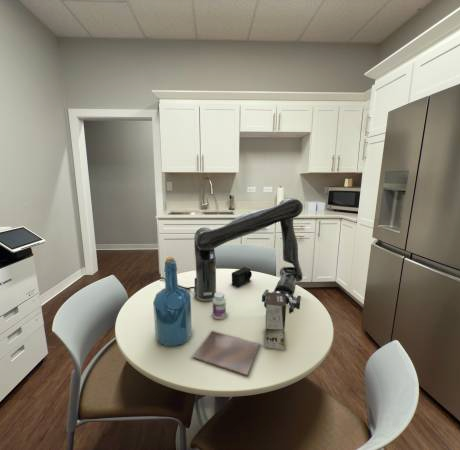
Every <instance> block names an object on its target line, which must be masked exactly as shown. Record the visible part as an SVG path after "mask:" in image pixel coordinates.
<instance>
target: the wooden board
mask: <svg viewBox="0 0 460 450" xmlns="http://www.w3.org/2000/svg"><path fill="white" fill-rule="evenodd" d="M259 348H260V344H258V343H255V342H252V341H248V340H244V339H241V338H238V337H233V336H230V335H227V334H223V333H219V332H216V331H211V332H210V334H209V335H208V336H207V338H206V339H205V341H204V342H203V343H202V345H201V346H200V348H199V349H198V350H197V351H196V353H195V354H194V356H193V359H194V360H197V361H201V362H205V363H206V364H210V365H213V366H216V367H218V368H222V369H225V370H228V371H230V372H234V373H236V374H240V375H243V376H245V377H248V376H249V373H250V370H251V367H252V365H253V363H254V360H255V358H256V356H257V353H258V350H259Z"/></svg>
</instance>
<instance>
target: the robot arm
mask: <svg viewBox="0 0 460 450" xmlns="http://www.w3.org/2000/svg"><path fill="white" fill-rule="evenodd" d="M303 209H304V205H303V203H302V202H301V200H299V199H298V198H295V197H294V198H293V197H291V198H284V199H282V200H281V201H279V203H278V204H276V205H274V206H271V207H267V208H263V209H257V210H254V211H250V212H248V213H245V214H242V215H240V216H238V217H236V218H234V219H232V220H231V221H230V222H228V223H227V224H225V225H224V226H221V227H217V228H214V229H211V228H210V227H207V226H206V227H205V226H204V227H200V228H198V229H197V230H196V231H195V233H194V237H193V238H194V239H193V243H194V258H195V277H194V286H189V287H185V286H182V285H180V284H178V287H181V288H184V289H185V290H192V289H193V292H194V298H195V299H197V300H198V301H201V302H211V301H213V299H214V294H215V293H217V263H216V262H217V259H216V252H215V249H216V248H218V247H220V246H222V245H224V244H226V243H228V242H230V241H234V240H237V239H239V238H243V237H245V236H248V235H251V234H254V233H256V232H259V231H261V230H263V229H266V228H268V227H270V226H272V225H274V224H277V223H280V231H281V238H282V260H283V261H284V262H285V263H289V264H291V265H292V266H282V267H281V268H280V270H279V280H278V281H277V284H276V286H275V288H274V290H273V291H272V292H271V291H269V289H265V290H264V292H263V293H262V295H261V303H263V307H264V309H266V300H267V292H269V293H284V294H285V301H286V307H288V308H289V309H288V314H292V313H294V311H295V309H296V310H300V309H301V301H302V299H301V298H302V297H301V295H297V296H294V294H295V293H296V286H297V283H301V281H302V280H303V277H304V276H303V275H304V274H303V271H302V267H301V263H300V260H299V243H298V240H297V236H296V233H295V227H294V219H296V218H297V217H298V216H300V215H301V214H302V213H303ZM158 279H159V280H164V281H165V276H164V277H163V276H161V277H159V278H158Z"/></svg>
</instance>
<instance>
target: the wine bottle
mask: <svg viewBox="0 0 460 450" xmlns="http://www.w3.org/2000/svg"><path fill="white" fill-rule="evenodd" d="M163 272H164V278H165V280H164V286H165V287H164V288H162V289H161V290H159V291H158V292H157V293H156V294H155V296H154V299H153V303H152V307H153V308H152V309H153V320H154V335H155V338H156V340H157V341H158V342H159V344H160V345H164V346H167V347H171V346H173V347H174V346H179V345H181V344H184V343H186V342H187V341H189V339H190V338H191V336H192V333H193V325H192V324H193V321H192V297H191V294H190V292H188V291H187V289H184V288H181V287H178V285H179V283H178V267H177V261H176V260H175V257H174V256H168V257H166V259H165V261H164V270H163Z"/></svg>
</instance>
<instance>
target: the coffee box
mask: <svg viewBox="0 0 460 450" xmlns="http://www.w3.org/2000/svg"><path fill="white" fill-rule="evenodd" d="M269 292H270V291H269ZM269 292H267V300H266V308H265V327H264V328H265V329H264V330H265V332H264V333H265V335H264V336H265V337H264V347H265V348H270V349H275V350H284V345H285V332H286V331H285V330H286V313H287V305H286V301H285V294H284V293H272V292H271V293H269Z"/></svg>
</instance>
